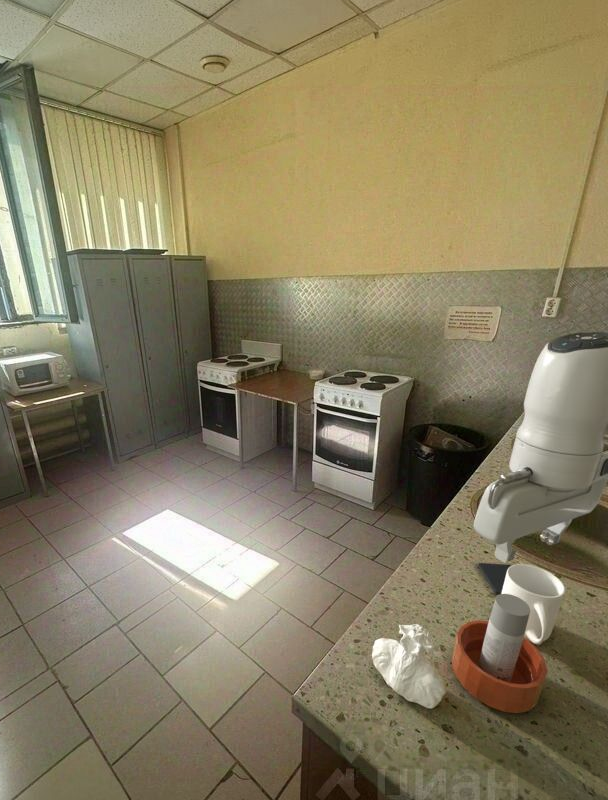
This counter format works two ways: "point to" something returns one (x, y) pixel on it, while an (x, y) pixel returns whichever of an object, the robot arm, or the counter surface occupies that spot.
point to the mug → (536, 598)
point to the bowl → (488, 688)
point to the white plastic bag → (410, 666)
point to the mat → (494, 575)
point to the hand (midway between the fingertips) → (526, 550)
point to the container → (504, 636)
